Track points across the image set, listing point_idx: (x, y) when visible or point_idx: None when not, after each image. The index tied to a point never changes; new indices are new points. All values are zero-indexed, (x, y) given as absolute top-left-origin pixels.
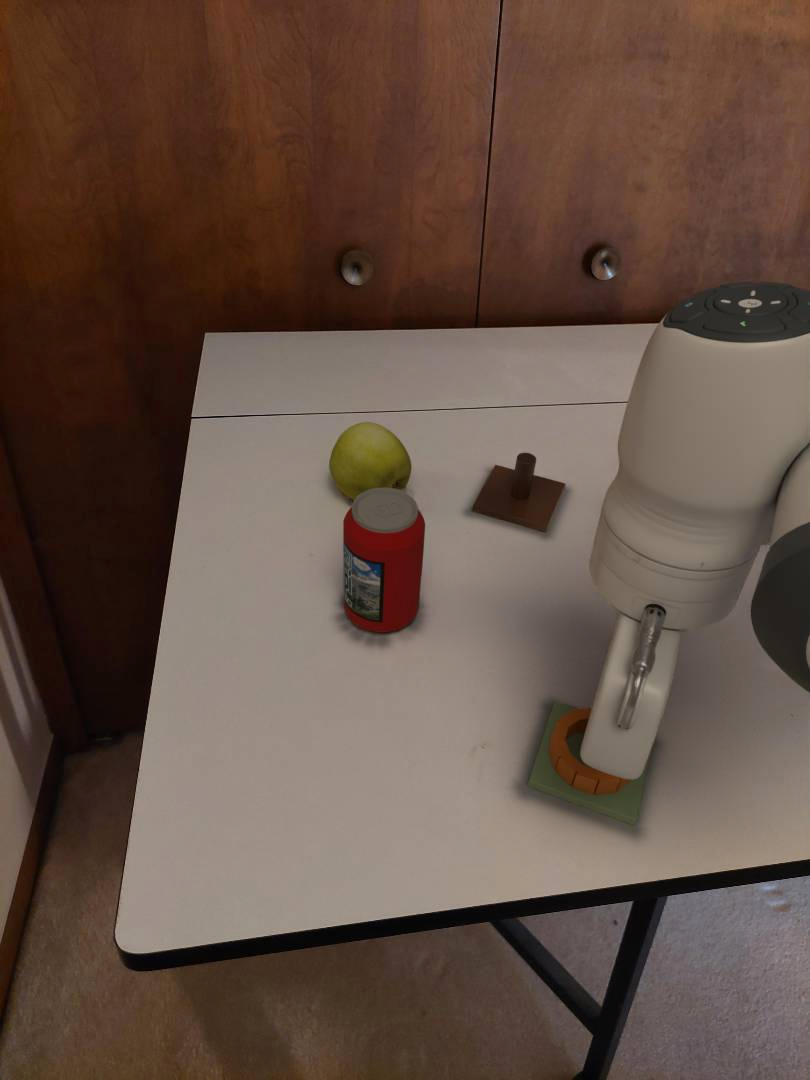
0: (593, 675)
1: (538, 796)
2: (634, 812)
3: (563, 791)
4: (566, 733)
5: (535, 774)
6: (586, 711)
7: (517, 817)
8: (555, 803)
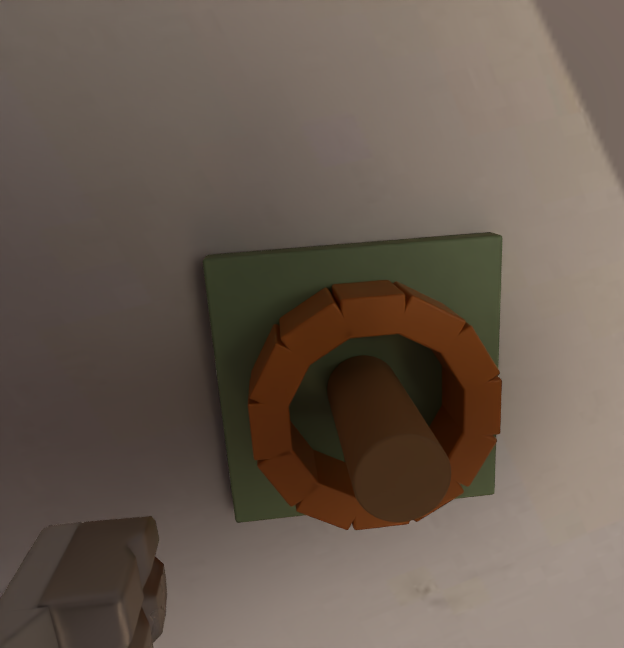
0: (73, 455)
1: (499, 451)
2: (483, 246)
3: None
4: None
5: (472, 487)
6: (280, 475)
7: (565, 470)
8: (501, 413)
